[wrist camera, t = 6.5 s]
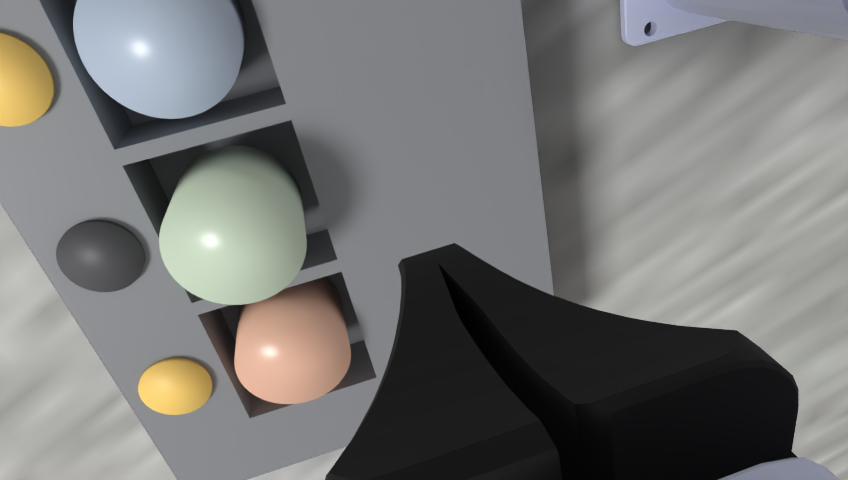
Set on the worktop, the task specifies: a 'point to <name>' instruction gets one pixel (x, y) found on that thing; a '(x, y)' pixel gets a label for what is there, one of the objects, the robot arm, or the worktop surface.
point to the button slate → (162, 52)
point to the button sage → (234, 226)
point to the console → (319, 184)
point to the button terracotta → (293, 343)
